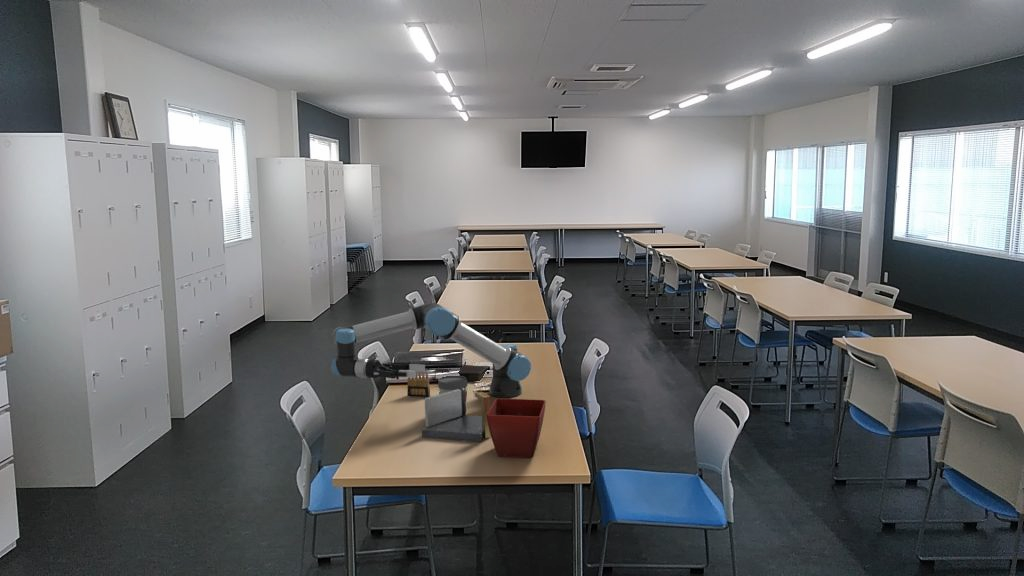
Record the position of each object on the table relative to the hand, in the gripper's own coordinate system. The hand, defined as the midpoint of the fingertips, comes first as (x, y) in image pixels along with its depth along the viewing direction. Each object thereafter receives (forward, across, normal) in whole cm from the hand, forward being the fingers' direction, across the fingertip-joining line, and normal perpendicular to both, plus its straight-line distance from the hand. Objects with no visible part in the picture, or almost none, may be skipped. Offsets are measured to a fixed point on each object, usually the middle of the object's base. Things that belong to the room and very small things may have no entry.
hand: (419, 371), depth 276 cm
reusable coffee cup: (+6, -22, -24) cm, 33 cm away
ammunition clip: (-19, -41, -24) cm, 51 cm away
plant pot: (+44, +14, -24) cm, 52 cm away
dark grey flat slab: (+15, -2, -24) cm, 29 cm away
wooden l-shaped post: (+26, +1, -24) cm, 36 cm away
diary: (-11, -78, -25) cm, 82 cm away
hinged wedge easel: (+9, -4, -21) cm, 23 cm away
